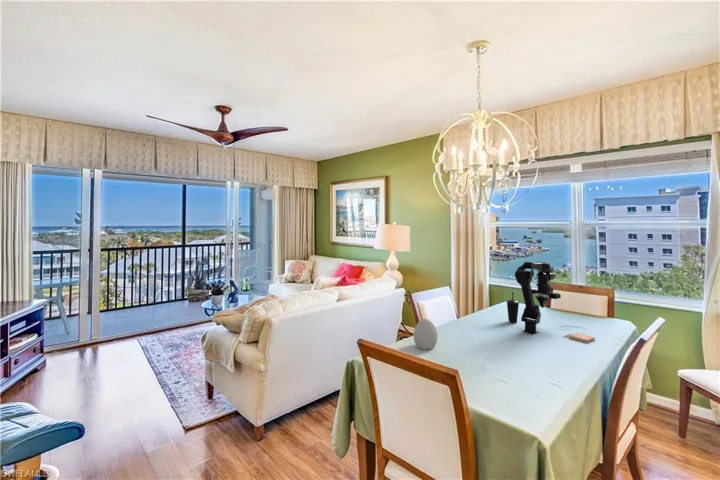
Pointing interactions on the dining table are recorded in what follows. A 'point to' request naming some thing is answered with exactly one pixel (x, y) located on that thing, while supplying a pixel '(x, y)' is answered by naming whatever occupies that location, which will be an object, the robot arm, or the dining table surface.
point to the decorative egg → (425, 335)
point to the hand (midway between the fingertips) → (542, 307)
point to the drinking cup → (512, 310)
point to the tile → (581, 337)
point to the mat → (576, 340)
